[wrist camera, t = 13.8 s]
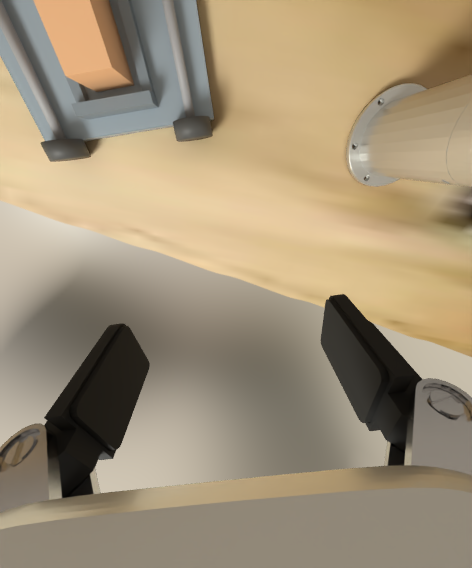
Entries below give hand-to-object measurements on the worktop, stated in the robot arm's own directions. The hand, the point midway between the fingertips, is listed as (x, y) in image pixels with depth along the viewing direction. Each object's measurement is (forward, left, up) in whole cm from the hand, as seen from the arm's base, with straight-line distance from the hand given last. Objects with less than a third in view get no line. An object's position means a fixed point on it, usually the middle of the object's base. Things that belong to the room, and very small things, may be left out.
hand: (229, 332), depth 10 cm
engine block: (+12, -20, -29) cm, 37 cm away
